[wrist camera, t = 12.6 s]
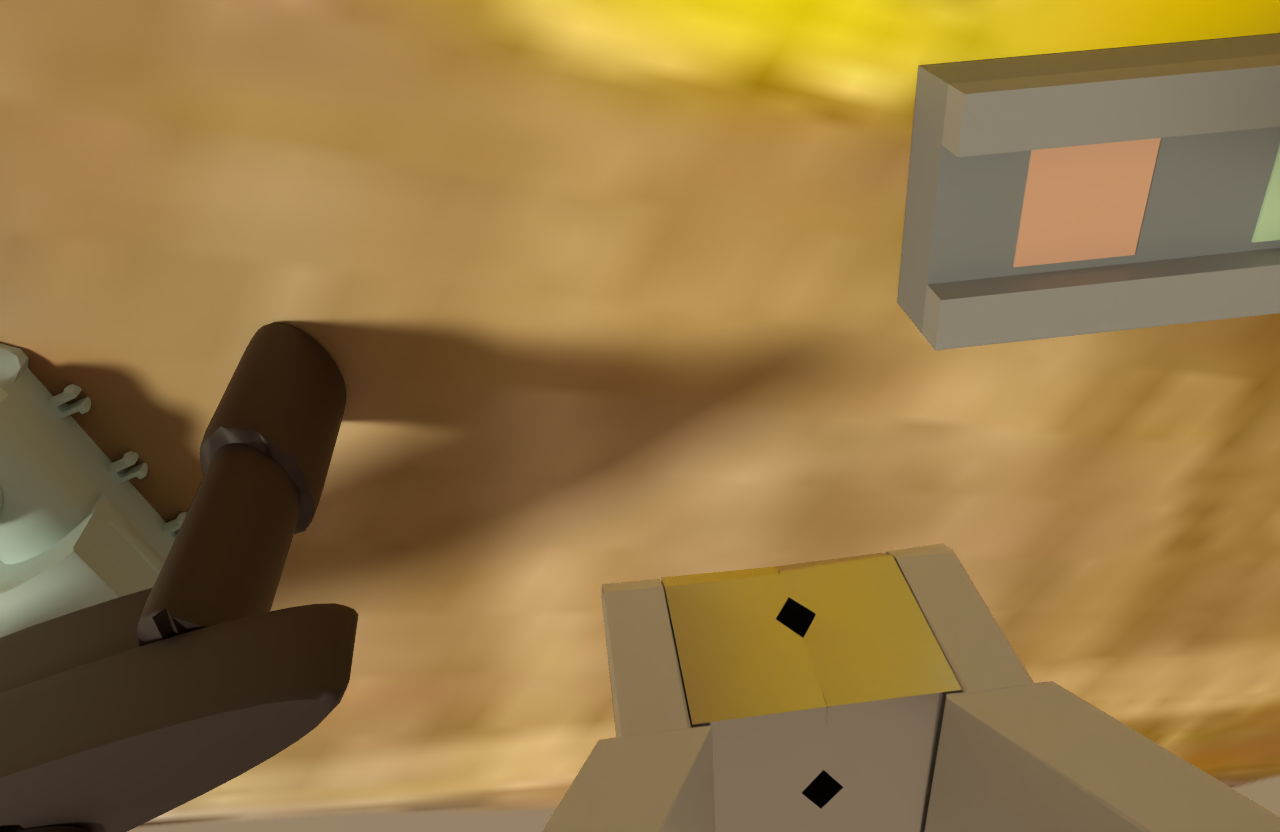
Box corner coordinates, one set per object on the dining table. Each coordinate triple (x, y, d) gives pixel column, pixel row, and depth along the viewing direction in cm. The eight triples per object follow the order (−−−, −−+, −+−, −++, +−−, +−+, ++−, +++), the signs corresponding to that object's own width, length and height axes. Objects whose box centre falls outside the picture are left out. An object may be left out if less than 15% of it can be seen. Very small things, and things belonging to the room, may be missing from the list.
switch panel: (897, 302, 43) (935, 350, 39) (918, 65, 37) (964, 94, 33) (1372, 252, 44) (1453, 294, 40) (1457, 17, 39) (1561, 39, 35)
